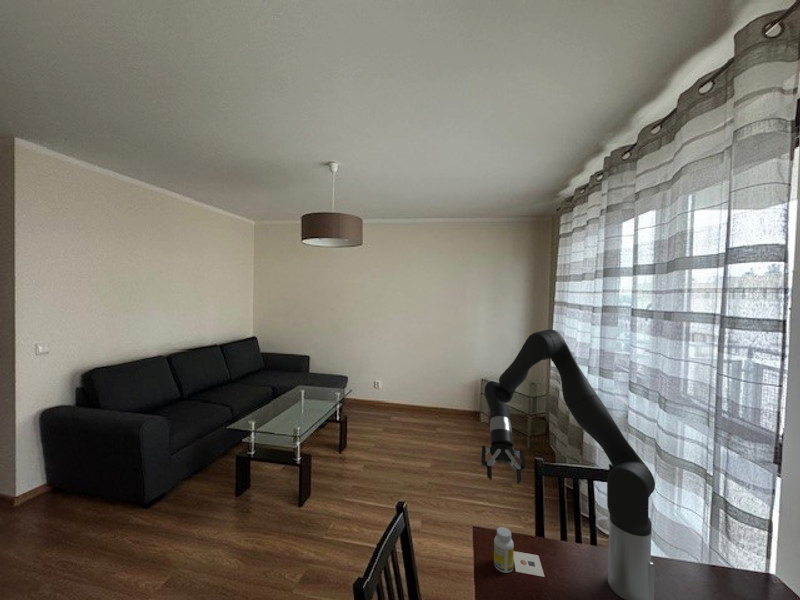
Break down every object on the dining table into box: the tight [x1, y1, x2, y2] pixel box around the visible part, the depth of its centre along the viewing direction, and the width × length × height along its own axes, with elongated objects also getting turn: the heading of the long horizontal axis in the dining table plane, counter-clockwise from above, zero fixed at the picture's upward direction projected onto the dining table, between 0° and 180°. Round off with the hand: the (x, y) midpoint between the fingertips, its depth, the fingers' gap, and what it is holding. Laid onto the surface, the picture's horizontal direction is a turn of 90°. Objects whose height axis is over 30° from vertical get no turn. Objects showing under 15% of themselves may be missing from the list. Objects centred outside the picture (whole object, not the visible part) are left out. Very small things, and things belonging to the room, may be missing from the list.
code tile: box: [513, 550, 546, 578], centre depth 96 cm, size 8×8×1 cm
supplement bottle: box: [493, 526, 515, 574], centre depth 94 cm, size 5×5×10 cm
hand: (504, 481), depth 106 cm, fingers open, 8 cm apart
